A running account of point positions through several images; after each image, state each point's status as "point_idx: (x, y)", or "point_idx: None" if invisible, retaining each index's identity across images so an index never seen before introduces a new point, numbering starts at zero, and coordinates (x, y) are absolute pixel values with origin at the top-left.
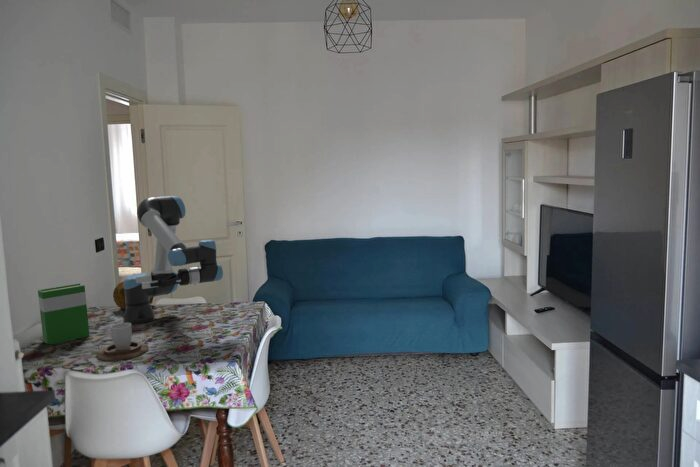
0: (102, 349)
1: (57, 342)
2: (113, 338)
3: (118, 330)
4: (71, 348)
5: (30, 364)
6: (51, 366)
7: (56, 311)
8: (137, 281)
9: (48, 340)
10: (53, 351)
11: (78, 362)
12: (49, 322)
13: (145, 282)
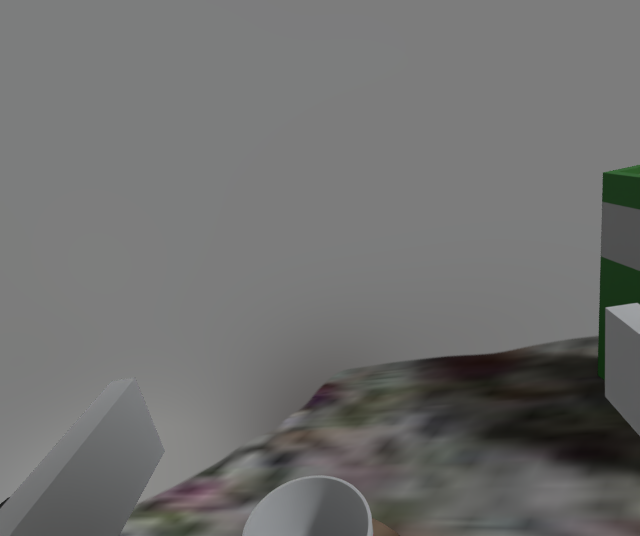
0: (388, 531)
1: None
2: (305, 531)
3: (257, 519)
4: (515, 435)
5: (386, 367)
6: (326, 405)
7: (637, 276)
8: (614, 386)
9: (600, 362)
10: (499, 394)
11: (306, 462)
12: (610, 303)
13: (85, 415)
